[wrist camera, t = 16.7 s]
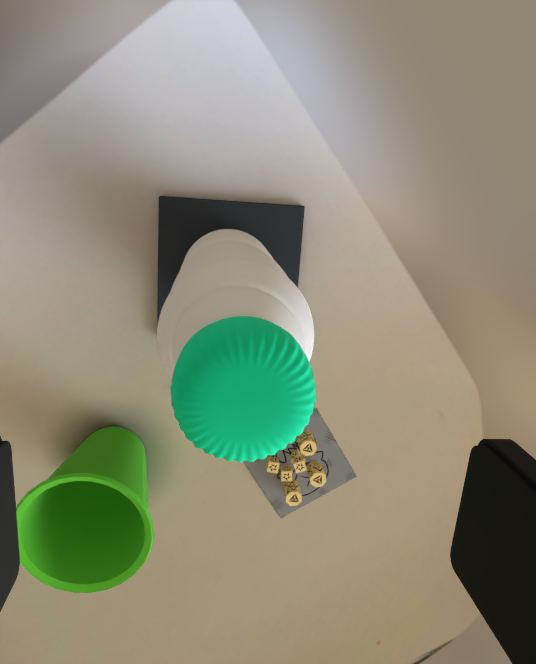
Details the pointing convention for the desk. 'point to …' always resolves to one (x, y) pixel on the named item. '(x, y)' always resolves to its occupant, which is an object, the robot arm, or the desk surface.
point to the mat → (210, 215)
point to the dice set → (302, 468)
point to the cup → (89, 516)
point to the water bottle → (237, 349)
